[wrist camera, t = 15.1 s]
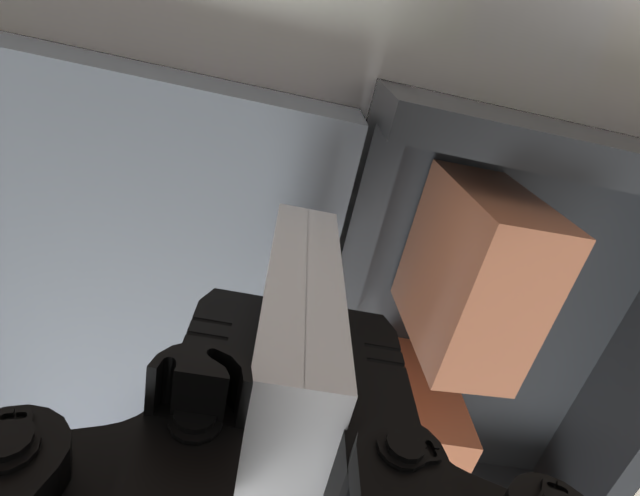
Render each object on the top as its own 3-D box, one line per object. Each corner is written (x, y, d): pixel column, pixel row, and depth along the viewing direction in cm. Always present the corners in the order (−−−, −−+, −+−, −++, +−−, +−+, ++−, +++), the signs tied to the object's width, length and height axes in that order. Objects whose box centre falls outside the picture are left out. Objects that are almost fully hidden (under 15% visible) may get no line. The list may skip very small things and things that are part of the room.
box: (285, 442, 22) (280, 528, 18) (377, 78, 15) (399, 100, 11) (539, 477, 23) (581, 564, 19) (733, 159, 16) (855, 201, 12)
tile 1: (360, 542, 16) (431, 551, 16) (402, 438, 14) (483, 450, 14) (349, 427, 21) (405, 435, 21) (380, 334, 18) (441, 344, 19)
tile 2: (430, 390, 13) (514, 398, 13) (498, 223, 11) (596, 239, 11) (390, 290, 17) (454, 299, 18) (433, 158, 15) (504, 172, 16)
